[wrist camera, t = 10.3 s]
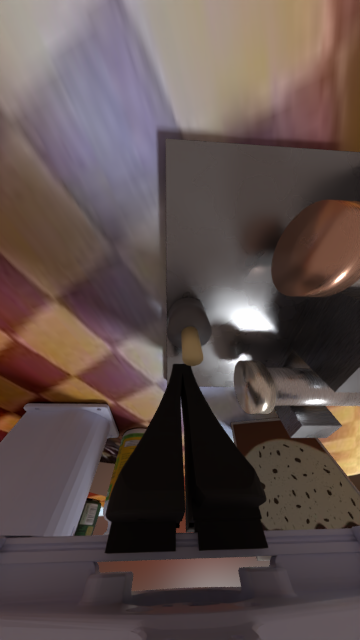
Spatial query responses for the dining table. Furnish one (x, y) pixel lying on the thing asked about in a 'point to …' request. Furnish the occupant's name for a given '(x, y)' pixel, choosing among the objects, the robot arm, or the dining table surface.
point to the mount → (258, 265)
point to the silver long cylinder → (284, 388)
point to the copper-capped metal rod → (319, 250)
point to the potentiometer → (189, 329)
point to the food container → (296, 479)
